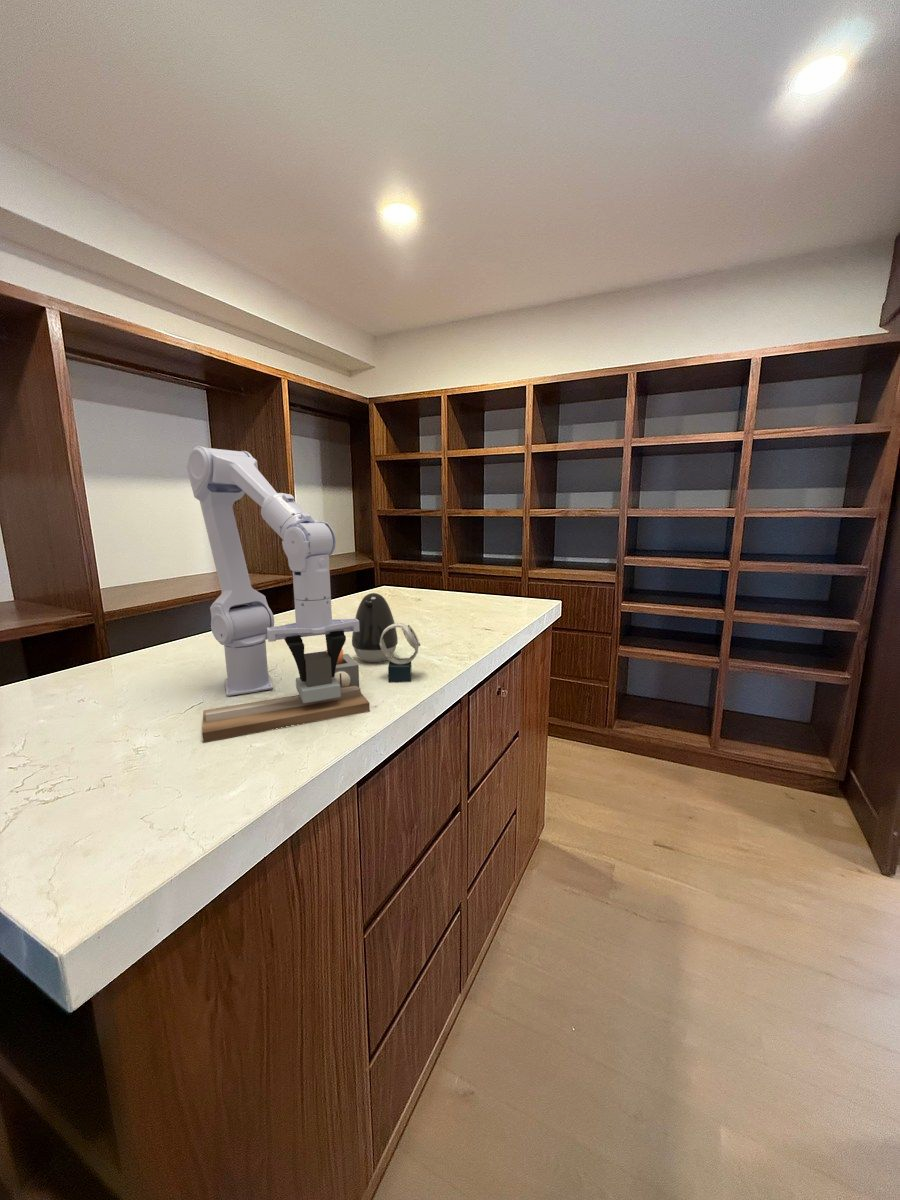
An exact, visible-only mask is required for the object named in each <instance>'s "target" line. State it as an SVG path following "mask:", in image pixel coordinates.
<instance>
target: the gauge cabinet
mask: <svg viewBox="0 0 900 1200" xmlns="http://www.w3.org/2000/svg"><path fill="white" fill-rule="evenodd" d="M359 670H360V666H359V664H358V663H357V662H356V661H355V659H354V658H352V656H351V655H350V654H349V653H343V663H342V664H338V665H336V669H335V679H336V680H337V682H338V683H339V684H340V688H343V687H350V686H358V687H359V688H360V671H359Z"/></svg>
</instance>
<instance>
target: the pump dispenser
mask: <svg viewBox="0 0 900 1200" xmlns="http://www.w3.org/2000/svg"><path fill="white" fill-rule="evenodd" d="M355 618H356V619H357V620H359V632H353V631H352V635H351V646H352V647H353V649H354V652H355V655H356V656H357V657H358V658H359V659H360V660H362V661H365V662H366V663H380V662H384V661H388V660H387V659H386V657H385V656H384V654H383V652H382V650H381V648H380V638H381V635H382V633H383V631H384V630H385V629H386V628H387V627H388V626H390V625H392V624H395V623H396V622H395V619H394V616H393V612H392V611H391V608H390V605H389V603H388V602H387V600H386V598H385V597H384V596H383V595H382V594H380V593H376V592H372V593H368V594H366V595H365V596H364V597H362V600H361V601H360V603H359V605H358V608H357V611H356V614H355ZM355 618H354V619H355ZM397 632H398V631H397V627H396V628H392V629H389V630H388V631H386V633H385V634H384V635H383V639H384V643H385V645H386V648H387V649H388V651H389V652H390V654H391V655H392V656H393V654H394V653H395V651H396V648H397V645H398V642H399V641H398V633H397Z"/></svg>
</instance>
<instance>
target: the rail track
mask: <svg viewBox="0 0 900 1200" xmlns="http://www.w3.org/2000/svg"><path fill="white" fill-rule="evenodd" d="M340 690H341V697H337V698H331V699H325V700H320V701H314V702H308V703H303V702H302V699H301V697H300V695H299V694H295V695H289V696H282V697H278V698H271V699H265V700H264V699H263V700H259V701H251V702H246V703H239V704H234V705H228V706H221V707H215V708H210V709H204V710H203V711H202V712H203V714H202V727H201V728H202V731H201V734H202V742H203V743H202V744H204V743H209V742H215V741H219V740H224V739H229V738H236V737H240V736H245V735H250V734H255V733H256V734H257V733H262V732H266V731H267V730H268V731H272V729H273V730H277V729H276V728H278V729H282V728H281V727H283V728H287V727H286V726H289V727H292V726H291V725H294V726H298V725H297V724H299V725H304V724H303V723H305V724H309V723H310V724H311V723H314V722H321V721H324V720H331V719H335V718H341V717H347V716H350V715H351V716H352V715H356V714H362V713H368V712H370V711H371V709H370V702H369V701H368V699H367V698H366V697H365V695H364V694H363V693H362V692H361V688H360V686H359V687H358V686H350V687H343V688H340Z"/></svg>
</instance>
